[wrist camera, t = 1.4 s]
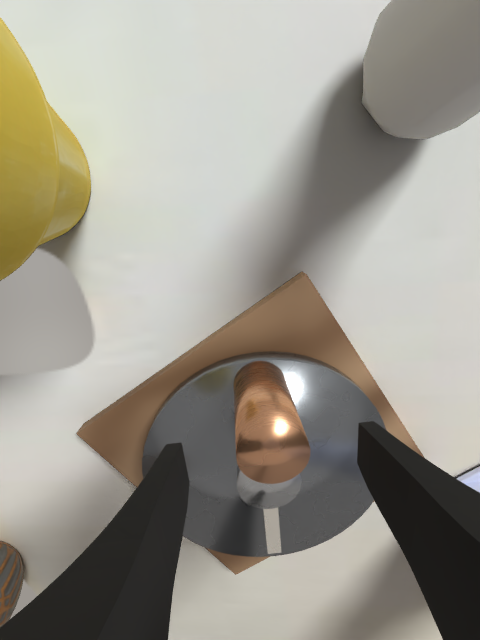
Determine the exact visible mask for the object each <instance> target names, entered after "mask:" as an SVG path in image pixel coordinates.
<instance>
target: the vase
mask: <svg viewBox="0 0 480 640" xmlns="http://www.w3.org/2000/svg"><path fill="white" fill-rule="evenodd" d="M23 578H24V577H23V565H22V560H21V557H20V555H19V553H18V551H17V550H16V549H15V548H14V547H12V546H11V545H9V544H7V543H5V542H2V541H0V627H2V626H3V625H4V624H5V623H6V622H8V621H9V619H10V617H11V615H12V613H13V611H14V609H15V607H16V604H17V601H18V599H19V596H20V592H21V589H22V584H23Z"/></svg>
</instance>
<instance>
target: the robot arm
mask: <svg viewBox="0 0 480 640" xmlns="http://www.w3.org/2000/svg"><path fill="white" fill-rule="evenodd" d="M357 464H358V466H359V469H360V471H361V474H362V476H363V478H364V481H365V483H366V485H367V488H368V490H369V492H370V493H371V495H372V497H373V499H374V501H375V502H376V504H377V506H378V508H379V510H380V512H381V513H382V515H383V517H384V519H385V520H386V522H387V524H388V526H389V528H390V529H391V531H392V533H393V535H394V537H395V538H396V540H397V542H398V544H399V545H400V547H401V549H402V551H403V553H404V555H405V557H406V559H407V561H408V563H409V565H410V567H411V569H412V571H413V573H414V575H415V578H416V580H417V582H418V584H419V586H420V588H421V591H422V593H423V595H424V597H425V599H426V602H427V604H428V606H429V609H430V611H431V613H432V615H433V618H434V620H435V622H436V625H437V627H438V629H439V631H440V634H441V636H442V638H443V640H480V466H479V467H477V468H475V469H474V470H472V471H470V472H468V473H466V474H464V475H462V476H460V477H458V478H454V477H452V476H451V475H449V474H448V473H446V472H445V471H443V470H441V469H440V468H438V467H437V466H435V465H434V464H432V463H431V462H429V461H428V460H426V459H425V458H424V457H422V456H421V455H419V454H418V453H416V452H415V451H414V450H412V449H411V448H409V447H408V446H407V445H405V444H404V443H403V442H401V441H400V440H399V439H397V438H396V437H394V436H393V435H392V434H390V433H389V432H388V431H386V430H385V429H384V428H382V427H381V426H380V425H378V424H377V423H376V422H374V421H370V422H361V423H359V426H358V451H357ZM188 495H189V477H188V472H187V467H186V462H185V457H184V452H183V447H182V442H181V443H172V444H166V445H165V446H164V448H163V450H162V451H161V453H160V454H159V456H158V457H157V459H156V461H155V462H154V464H153V465H152V467H151V468H150V470H149V471H148V473H147V474H146V476H145V477H144V478H143V480H142V481H141V483H140V484H139V486H138V487H137V488H136V490H135V491H134V493H133V494H132V495H131V497H130V498H129V499H128V500H127V502H126V503H125V504H124V506H123V507H122V508H121V510H120V511H119V512H118V513H117V515H116V516H115V517H114V518H113V520H112V521H111V522H110V523H109V524H108V526H107V527H106V528H105V529H104V530H103V531H102V532H101V534H100V535H99V536H98V537H97V538H96V539H95V540H94V541H93V542H92V544H91V545H90V546H89V547H88V548H87V549H86V550H85V551H84V552H83V553H82V554H81V555H80V556H79V557H78V558H77V559H76V560H75V561H74V562H73V563H72V564H71V565H70V566H69V567H68V568H67V569H66V570H65V571H64V572H63V573H62V574H61V575H60V576H59V577H58V578H57V579H56V580H55V581H54V582H52V583H51V584H50V585H49V586H48V587H47V588H46V589H45V590H44V591H43V592H42V593H40V594H39V595H38V596H37V597H36V598H35V599H34V600H33V601H32V602H31V603H29V604H28V605H27V606H26V607H24V608H23V609H22V610H21V611H20V612H19V613H17V614H16V615H15V616H14V617H12V618H11V619H10V620H9V621H8V622H6V623H5V624H4V625H3V626H2V627H0V640H168V632H169V622H170V612H171V603H172V593H173V586H174V580H175V573H176V568H177V563H178V557H179V552H180V547H181V541H182V536H183V530H184V525H185V519H186V514H187V507H188Z"/></svg>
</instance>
